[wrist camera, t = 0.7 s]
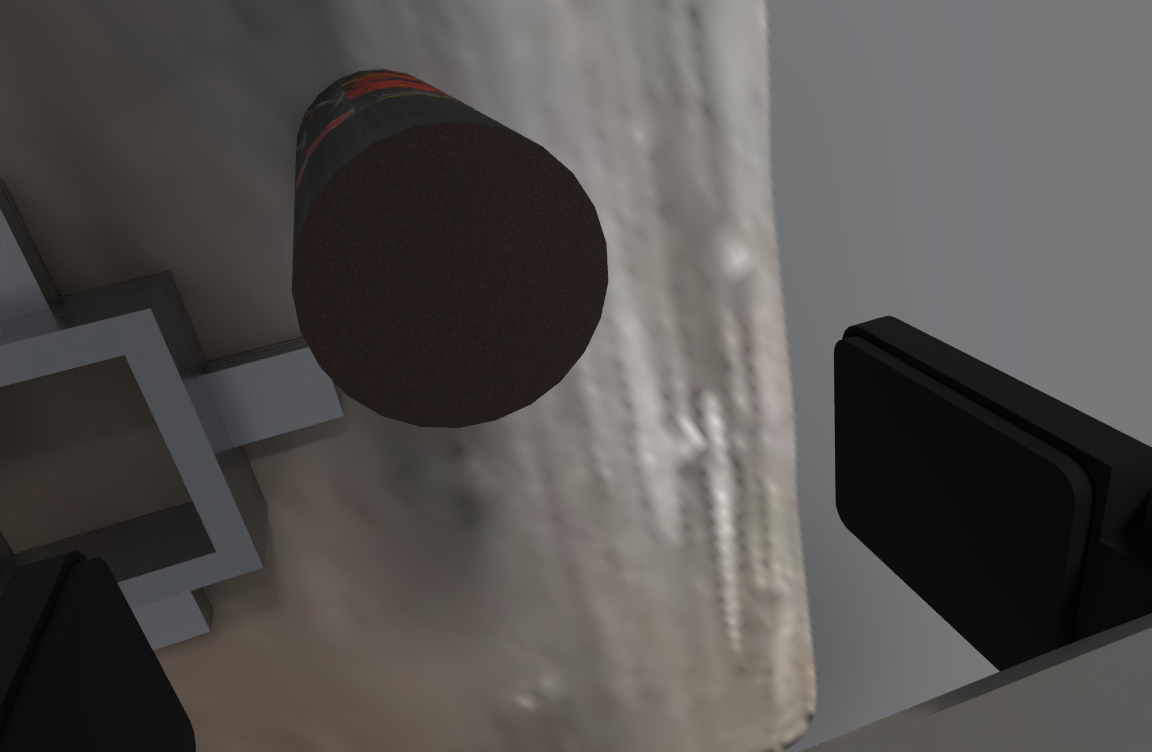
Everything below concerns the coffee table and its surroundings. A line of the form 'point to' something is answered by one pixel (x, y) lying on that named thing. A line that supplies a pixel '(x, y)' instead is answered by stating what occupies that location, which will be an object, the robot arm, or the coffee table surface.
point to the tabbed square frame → (162, 427)
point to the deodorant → (438, 254)
